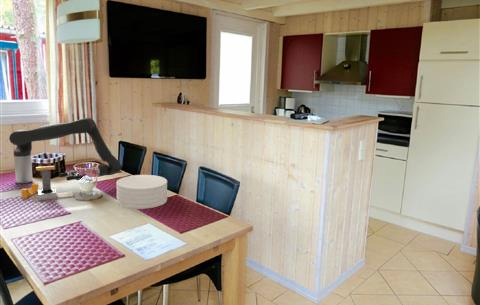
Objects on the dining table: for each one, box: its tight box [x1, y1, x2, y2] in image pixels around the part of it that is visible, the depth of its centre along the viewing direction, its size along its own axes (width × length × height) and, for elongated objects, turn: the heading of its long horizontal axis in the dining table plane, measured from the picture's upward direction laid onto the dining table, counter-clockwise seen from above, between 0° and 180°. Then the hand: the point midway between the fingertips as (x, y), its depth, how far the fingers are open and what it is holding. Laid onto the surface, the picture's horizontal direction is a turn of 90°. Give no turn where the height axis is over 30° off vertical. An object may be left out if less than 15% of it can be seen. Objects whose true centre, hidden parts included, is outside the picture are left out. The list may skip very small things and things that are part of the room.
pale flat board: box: [31, 191, 76, 203], centre depth 204 cm, size 11×21×2 cm, turn 122°
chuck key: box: [35, 165, 56, 193], centre depth 200 cm, size 4×9×18 cm, turn 122°
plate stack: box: [115, 174, 168, 210], centre depth 208 cm, size 28×28×12 cm
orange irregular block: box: [21, 183, 39, 199], centre depth 205 cm, size 12×4×6 cm, turn 1°
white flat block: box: [37, 187, 58, 202], centre depth 202 cm, size 9×9×4 cm
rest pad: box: [56, 191, 75, 199], centre depth 207 cm, size 8×8×1 cm
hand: (63, 177), depth 207 cm, fingers open, 8 cm apart
